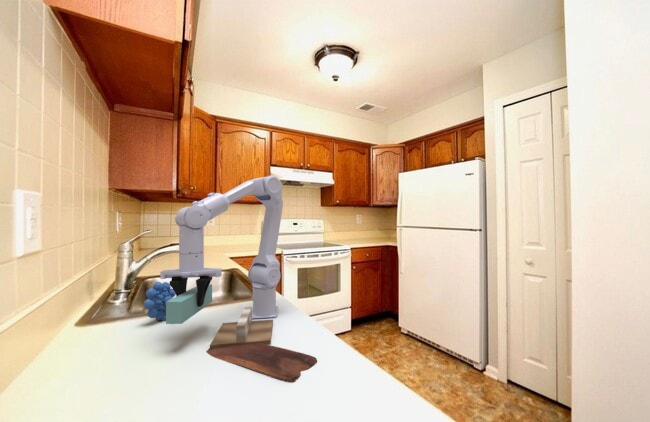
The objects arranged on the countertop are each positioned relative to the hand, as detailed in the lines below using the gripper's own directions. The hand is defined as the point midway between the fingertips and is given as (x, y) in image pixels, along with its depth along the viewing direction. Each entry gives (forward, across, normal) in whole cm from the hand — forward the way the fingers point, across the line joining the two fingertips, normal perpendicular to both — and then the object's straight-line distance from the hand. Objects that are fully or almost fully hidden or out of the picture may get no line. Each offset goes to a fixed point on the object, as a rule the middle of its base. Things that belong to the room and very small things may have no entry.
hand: (191, 305), depth 69 cm
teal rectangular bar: (+2, 0, 0) cm, 2 cm away
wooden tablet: (+9, +18, -10) cm, 23 cm away
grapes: (+9, -14, +14) cm, 21 cm away
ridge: (+8, +13, +1) cm, 16 cm away
